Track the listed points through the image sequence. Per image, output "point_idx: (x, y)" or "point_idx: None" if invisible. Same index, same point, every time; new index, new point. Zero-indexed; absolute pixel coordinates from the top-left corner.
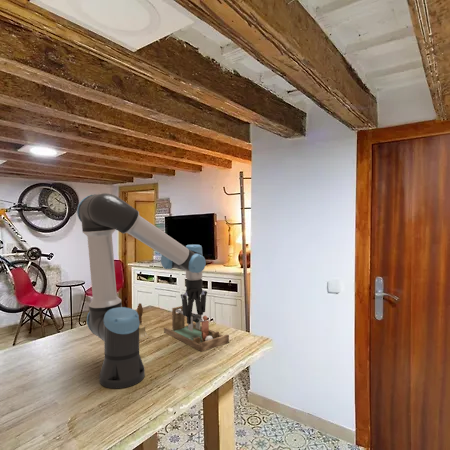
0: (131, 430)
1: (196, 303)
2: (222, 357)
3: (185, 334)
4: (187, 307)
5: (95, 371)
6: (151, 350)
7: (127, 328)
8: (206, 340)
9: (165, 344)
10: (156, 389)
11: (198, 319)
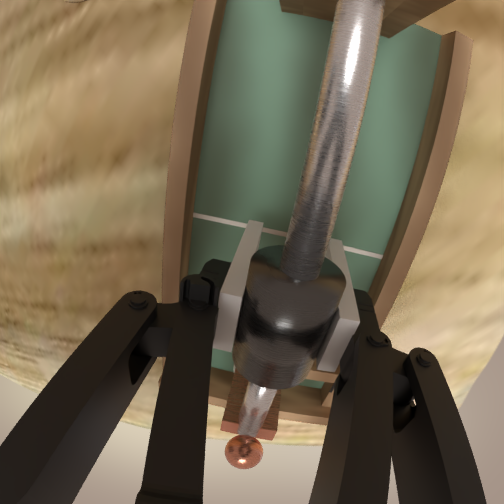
0: None
1: (335, 468)
2: (217, 410)
3: (284, 143)
4: (111, 429)
5: None
6: (40, 157)
7: None
8: (233, 368)
9: (114, 140)
10: (13, 350)
11: (249, 386)
